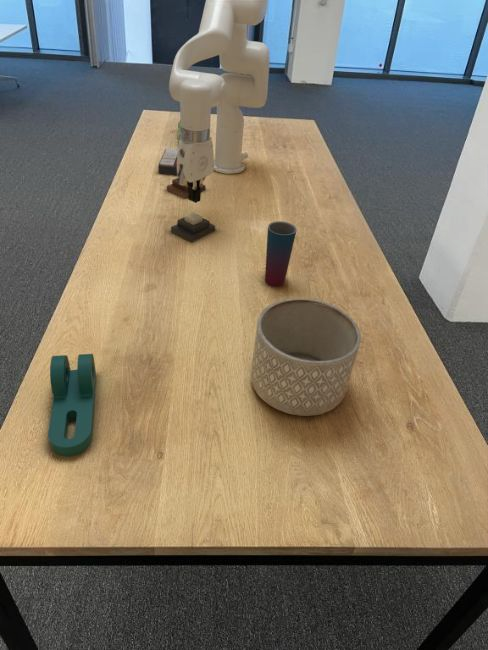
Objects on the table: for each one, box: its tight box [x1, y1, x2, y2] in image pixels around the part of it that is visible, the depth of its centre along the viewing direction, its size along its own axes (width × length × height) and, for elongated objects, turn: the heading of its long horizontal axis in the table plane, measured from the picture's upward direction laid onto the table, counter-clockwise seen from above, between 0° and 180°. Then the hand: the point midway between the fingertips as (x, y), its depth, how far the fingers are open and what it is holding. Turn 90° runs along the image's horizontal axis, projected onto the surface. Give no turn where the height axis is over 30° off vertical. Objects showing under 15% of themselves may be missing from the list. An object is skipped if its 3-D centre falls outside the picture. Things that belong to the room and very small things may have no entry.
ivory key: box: [184, 211, 204, 225], centre depth 142 cm, size 4×4×2 cm
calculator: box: [157, 148, 178, 176], centre depth 180 cm, size 11×4×15 cm
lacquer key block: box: [170, 216, 216, 243], centre depth 143 cm, size 10×8×4 cm
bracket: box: [47, 353, 98, 457], centre depth 86 cm, size 18×7×8 cm, turn 10°
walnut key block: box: [166, 177, 206, 199], centre depth 165 cm, size 10×8×4 cm
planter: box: [250, 297, 362, 417], centre depth 94 cm, size 19×19×14 cm
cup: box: [264, 220, 298, 287], centre depth 123 cm, size 7×7×15 cm
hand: (194, 200), depth 139 cm, fingers closed
